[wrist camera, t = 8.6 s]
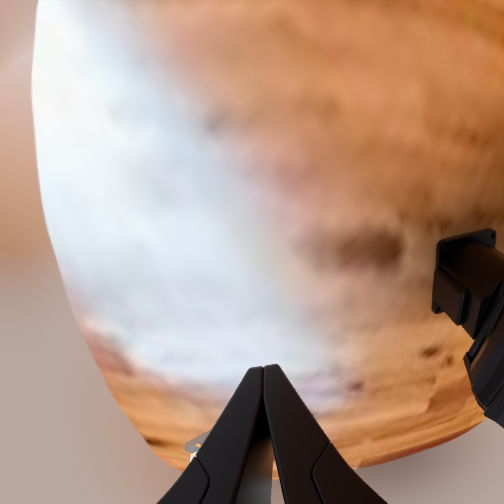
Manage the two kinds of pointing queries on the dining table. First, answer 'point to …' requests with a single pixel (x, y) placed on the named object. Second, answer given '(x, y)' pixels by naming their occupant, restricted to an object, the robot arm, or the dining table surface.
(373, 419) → the dining table surface
